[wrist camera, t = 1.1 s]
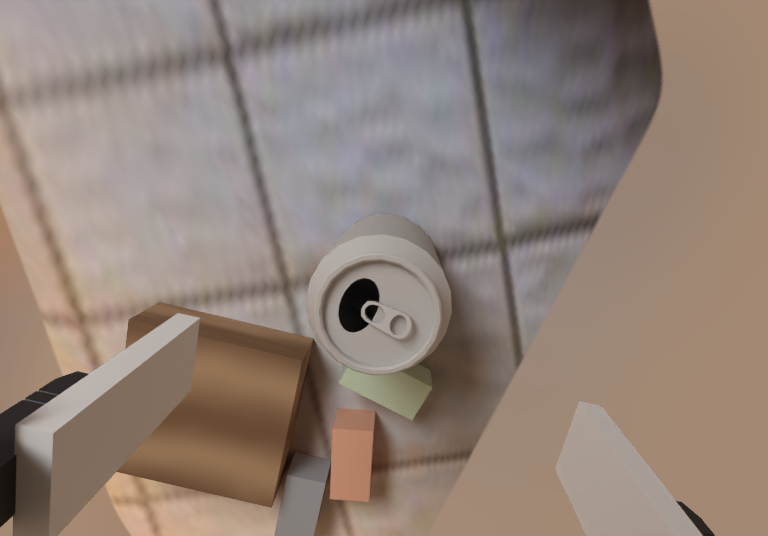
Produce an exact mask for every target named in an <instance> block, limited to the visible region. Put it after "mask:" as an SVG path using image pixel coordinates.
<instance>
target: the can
mask: <svg viewBox="0 0 768 536" xmlns="http://www.w3.org/2000/svg"><path fill="white" fill-rule="evenodd" d="M306 304H307V312H308V320H309V324H310V326H311V328H312V330H313V332H314V334H315V336H316V338H317V340H318V342H319V343H320V344H321V346H322V347H323V348H324V349H325V350H326V351H327V352H328V353H329V354H330V355H331V356H332V357H333V358H334V359H335V360H336V361H337V362H339V363H341V364H343V365H344V366H346V367H348V368H350V369H351V370H353V371H356V372H361V373H365V374H369V375H387V374H394V373H397V372H400V371H402V370H405V369H408V368H411V367H412V366H415V365H417V364H418V363H420V362H421V361H422V360H424V359H425V358H426V357H428V356H429V355H430V354H431V353H433V352H434V351H435V349H436V348H437V346H438V345H439V343H440V342H441V340H442V339H443V337H444V336H445V334H446V332H447V329H448V325H449V321H450V318H451V314H452V304H451V290H450V287H449V285H448V282H447V279H446V277H445V274H444V271H443V269H442V266H441V264H440V261H439V258H438V256H437V253H436V251H435V248H434V246H433V243H432V241H431V239H430V238H429V236H428V235H427V234H426V233H425V232H424V231H423V229H422V228H421V227H420V226H418V225H417V224H415V223H413V222H412V221H410V220H409V219H407V218H405V217H400V216H396V215H392V214H381V215H372V216H369V217H367V218H365V219H362V220H360V221H357V222H356V223H355V224H354V225H353V226H351V227H350V228H349V229H348V230H347V231H346V232H345V233H344V234H343V235H342V236H341V237H340V239H339V240H338V241H337V242H336V243H335V245H334V246H333V247H332V248H331V249H330V251H329V252H328V253H327V254H326V255H325V257H324V258H323V259H322V260H321V262H320V264H319V266H318V267H317V269H316V271H315V272H314V274H313V276H312V278H311V279H310V284H309V289H308V294H307V299H306Z"/></svg>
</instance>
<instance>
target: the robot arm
mask: <svg viewBox="0 0 768 536" xmlns="http://www.w3.org/2000/svg"><path fill="white" fill-rule="evenodd" d="M199 323H200V318H198V317H194V316H189V315H185V314H180V313H177V314H176V315H174V316H173V317H171V318H170V319H168V320H167V321H166V322H164V323H163V324H161V325H160V326H158V327H157V328H155V329H154V330H152V331H151V332H150V333H148V334H147V335H145V336H144V337H142V338H141V339H139V340H138V341H136V342H135V343H134V344H132V345H131V346H129V347H128V348H126V349H125V350H123V351H122V352H120V353H119V354H118V355H116V356H115V357H113V358H112V359H110V360H109V361H107V362H106V363H104V364H103V365H102V366H100V367H99V368H97V369H96V370H94V371H93V372H91V373H90V374H87V373H82V372H78V371H77V372H74V373H71V374H68V375H65V376H63V377H60V378H57V379H55V380H53V381H52V382H50V383H48V384H47V385H45V386H44V387H42V388H40V389H39V391H38V392H34V393H33V394H32V395H29V396H28V397H26V399H25V400H22V401H20V402H19V403H17V404H15V405H14V406H12V407H11V408H9V409H8V410H6V411H4V412H3V413H1V414H0V527H1V526H2V525H3V524H4V523H5V522H7V521H8V520H9V519H10V518H11V517H12V516H13V536H58V535H59V533H60V532H61V531H62V530H63V529H64V528H65V527H66V526H67V525H68V524H69V523H70V522H71V520H72V519H73V518H74V517H75V516H76V515H77V514H78V513H79V512H80V511H81V509H83V507H84V506H85V505H86V504H87V503H88V502H89V501H90V500H91V499H92V498H93V497H94V495H95V494H96V493H97V492H98V491H99V490H100V489H101V488H102V487H103V486H104V485H105V483H106V482H107V481H108V480H109V479H110V478H111V477H112V476H113V475H114V474H115V473H116V471H117V470H118V469H119V468H120V467H121V466H122V465H123V464H124V463H125V462H126V461H127V460H128V458H129V457H130V456H131V455H132V454H133V453H134V452H135V451H136V450H137V449H138V448H139V446H140V445H141V444H142V443H143V442H144V441H145V440H146V439H147V438H148V437H149V436H150V434H151V433H152V432H153V431H154V430H155V429H156V428H157V427H158V426H159V425H160V424H161V422H162V421H163V420H164V419H165V418H166V417H167V416H168V415H169V414H170V413H171V412H172V411H173V409H174V408H175V407H176V406H177V405H178V404H179V403H180V402H181V401H182V400H183V399H184V397H185V396H186V395H187V394H188V393H189V392H190V391H191V388H192V380H193V372H194V363H195V355H196V347H197V339H198V331H199ZM555 471H556V473H557V475H558V477H559V479H560V481H561V483H562V486H563V488H564V490H565V492H566V494H567V496H568V498H569V500H570V502H571V505H572V507H573V509H574V511H575V513H576V515H577V517H578V519H579V521H580V523H581V526H582V528H583V529H584V532H585V534H586V536H714V534H713V532H712V531H711V530H710V529H709V528H708V526H707V525H706V524H705V523H704V521H703V520H702V519H701V518H700V517H699V516H698V515H696V514H695V513H694V512H693V511H691V510H690V509H689V508H688V507H687V506H686V505H684V504H683V503H682V502H678V501H675V499H674V498H673V497H672V496H671V494H670V493H669V492H668V491H667V489H666V488H665V487H664V485H663V484H662V483H661V482H660V480H659V479H658V478H657V477H656V475H655V474H654V473H653V471H652V470H651V469H650V468H649V466H648V465H647V464H646V462H645V461H644V460H643V459H642V457H641V456H640V455H639V454H638V452H637V451H636V450H635V448H634V447H633V446H632V445H631V443H630V442H629V441H628V439H627V438H626V437H625V436H624V434H623V433H622V432H621V430H620V429H619V428H618V427H617V426H616V424H615V423H614V422H613V420H612V419H611V418H610V417H609V415H608V414H607V413H606V411H605V410H604V409H603V408H602V406H599V405H594V404H590V403H585V402H581V401H580V402H579V404H578V406H577V409H576V412H575V415H574V418H573V421H572V424H571V426H570V429H569V432H568V434H567V437H566V440H565V443H564V446H563V448H562V451H561V454H560V457H559V460H558V462H557V466H556V468H555Z"/></svg>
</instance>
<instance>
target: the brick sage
mask: <svg viewBox="0 0 768 536" xmlns="http://www.w3.org/2000/svg"><path fill="white" fill-rule="evenodd" d="M339 384H341V385H343V386H345V387H347V388H349V389H351V390H353V391H354V392H356V393H358V394H360V395H362V396H364V397H366V398H368V399H370V400H372V401H374V402H376V403H378V404H380V405H382V406H384V407H386V408H388V409H390V410H392V411H394V412H396V413H398V414H400V415H402V416H404V417H406V418H408V419H410V420H413V419H414V417H415V415H416V414H417V412H418V410H419V409H420V407H421V406H422V404H423V402H424V401H425V399H426V398H427V396H428V394H429V393H430V391H431V390H432V388H433V386H432V379H431V371H430V370H429V369H427V368H425V367H423V366H422V365H420V364H417V365H415V366H412V367H411V368H408V369H405V370H402V371H400V372H397V373H394V374H387V375H369V374H365V373H361V372H356V371H353V370H351V369H350V368H348V367H346V366H343V369H342V373H341V376H340V380H339Z"/></svg>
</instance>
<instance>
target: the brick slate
mask: <svg viewBox="0 0 768 536" xmlns="http://www.w3.org/2000/svg"><path fill="white" fill-rule="evenodd" d="M330 463H331V460H328V459H324V458H319V457H315V456H310V455H306V454H301V453H297V452H295V454H294V457H293V459H292V462H291V465H290V468H289V470H288V473H287V476H286V481H285V486H284V491H283V496H282V501H281V506H280V511H279V516H278V521H277V526H276V531H275V535H274V536H314V534H315V529H316V525H317V521H318V517H319V512H320V508H321V503H322V499H323V494H324V490H325V486H326V481H327V477H328V472H329V468H330Z"/></svg>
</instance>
